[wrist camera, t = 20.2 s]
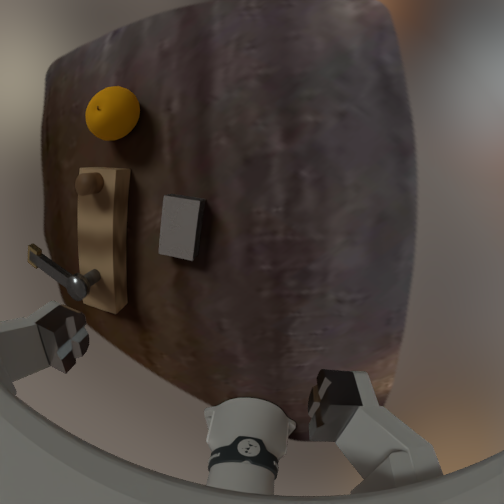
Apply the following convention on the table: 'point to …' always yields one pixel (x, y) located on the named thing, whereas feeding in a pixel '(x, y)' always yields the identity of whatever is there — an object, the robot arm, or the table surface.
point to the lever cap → (181, 226)
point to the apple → (112, 113)
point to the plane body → (103, 235)
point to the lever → (59, 273)
